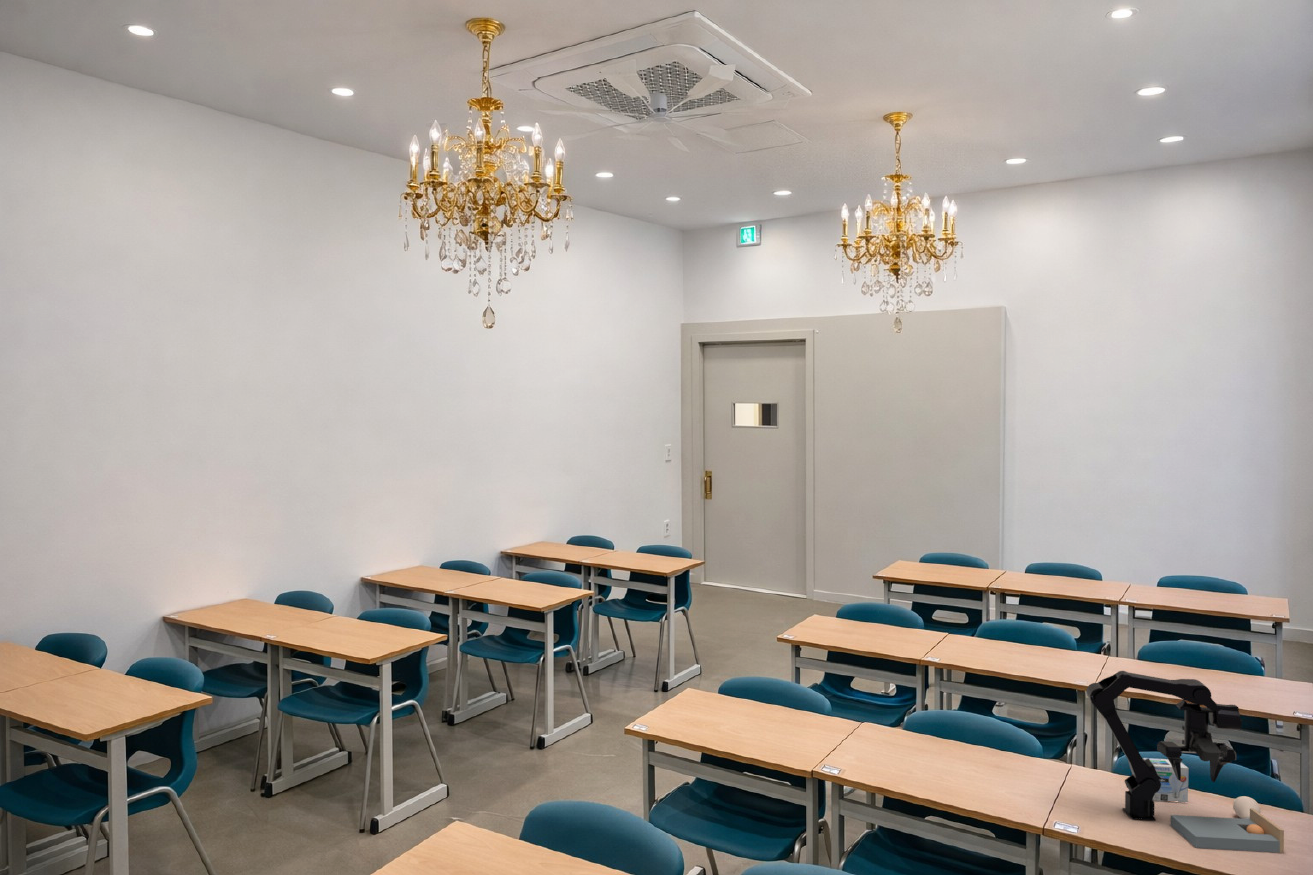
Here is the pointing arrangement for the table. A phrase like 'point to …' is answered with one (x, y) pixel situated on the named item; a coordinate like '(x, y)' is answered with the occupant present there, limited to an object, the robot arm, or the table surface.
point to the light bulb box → (1170, 782)
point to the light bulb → (1245, 806)
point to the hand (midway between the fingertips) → (1195, 780)
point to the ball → (1254, 829)
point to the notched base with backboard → (1230, 832)
